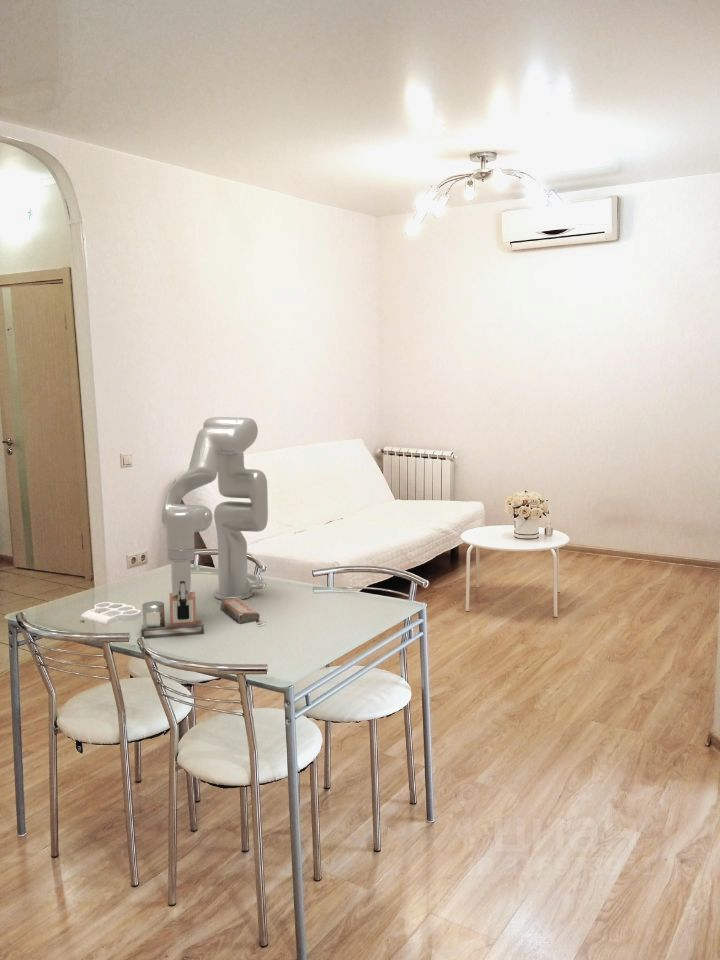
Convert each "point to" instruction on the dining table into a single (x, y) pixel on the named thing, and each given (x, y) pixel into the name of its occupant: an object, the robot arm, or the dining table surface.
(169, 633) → the shelf board
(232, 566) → the robot arm
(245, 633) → the dining table surface
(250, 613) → the packaged product
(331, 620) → the dining table surface
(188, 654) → the dining table surface
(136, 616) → the knuckle duster
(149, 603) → the tin
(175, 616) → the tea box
